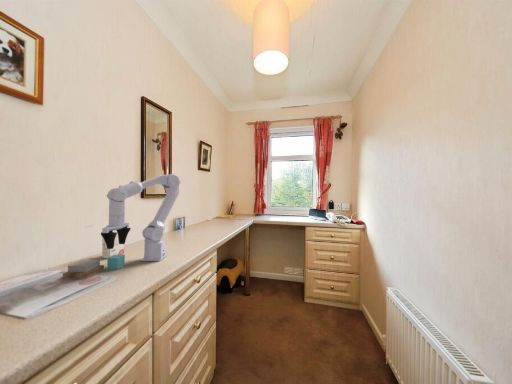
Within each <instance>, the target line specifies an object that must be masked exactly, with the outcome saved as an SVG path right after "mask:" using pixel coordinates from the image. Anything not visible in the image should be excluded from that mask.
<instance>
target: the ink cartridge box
mask: <svg viewBox="0 0 512 384" xmlns="http://www.w3.org/2000/svg"><path fill="white" fill-rule="evenodd" d="M112 232H116V233H117V231H116V230H114V231H112ZM101 237H102V236H101ZM101 242H102V244H101V246H102V249H101V251H102V256H101V257H102V259H107V258H108V257H111V256H113V255H125V244H119V239H118V233H117V235H116V237H115V241H114V248H113V249H107V246H106V243H105V240H104V238H103V237H102V238H101Z"/></svg>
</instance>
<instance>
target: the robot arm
mask: <svg viewBox="0 0 512 384" xmlns="http://www.w3.org/2000/svg"><path fill="white" fill-rule="evenodd" d="M180 184H181V180H180V177H179V176H178V175H177V174H176V173H170V174H162V175H158V176H157V175H156V176H154V177H151V178H149V179H146V180H144V181H141V182H138V181H133V180H131V181H129V183H126V184H124V185H122V184H121V185H119V186H118V187H117V188H115V187H114V188H111V189H110V190H109V191H108V192H107V195H106V197H107V199H108V200H109V202H108V224H107V225H106V226H105V227H103V228H102V229H101V230H102V231H101V232H100V235H101V237H103V238H104V240H105V243H106V246H107V249H113V248H114V241H115V237H116V235H117V233H118V239H119V244H124V245H125V243H126V242H127V241H126V240H127V237H128V235H129V232H130V231H131V227H130V223H129V222H125V221H126V220H125V219H126V218H125V214H126V213H125V209H126V207H125V206H126V205H125V200H127V199H128V198H131V197H134V196H136V195H138V194H141V193H142V192H143V190H144V189H147V188H149V187H153V186H155V185H161V186H162V187H163V188H164V189H165V191H166V195H165V197H164V199H163V201H162V203H161V205H160V206H159V208H158V210H157V212H156V214H155V216H154V218H153V219H152V220H151V221H150V222H149V223H148V224H147V226H146V227H144V229H143V230H142V234H141V235H142V237H143V238H144V247H143V248H144V250H143V251H144V254H143V255H144V257H143V258H141V259H139V260H140V262H160V261H162V260H164V258H166V257H167V242H166V241H165V240H162V238H163V236H164V231H165V222H166V220H167V218H168V216H169V214H170V212H171V210H172V208H173V206H174V204H175V202H176V200H177V198H178V196H179V194H180ZM114 230H115V232H112V231H114ZM116 231H117V233H116Z"/></svg>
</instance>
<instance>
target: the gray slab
mask: <svg viewBox="0 0 512 384" xmlns="http://www.w3.org/2000/svg"><path fill="white" fill-rule="evenodd" d="M100 265H101V260H100V259H82V260H79V261H77V262H75V263H71V264H69V265H68V266H67V271H68V272H88V271H90V270H92V269H94V268H96V267H98V266H100Z"/></svg>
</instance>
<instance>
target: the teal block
mask: <svg viewBox="0 0 512 384" xmlns="http://www.w3.org/2000/svg"><path fill="white" fill-rule="evenodd" d="M125 258H126V257H125V254H122V255H113V256H111V257H108V258H106V259H107V264H106V265H107V267H106V268H107V269H106V270H109V271H110V270H118V271H119V269H121V268H123V267H124V266H125V264H126V263H125V262H126V260H125Z"/></svg>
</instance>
